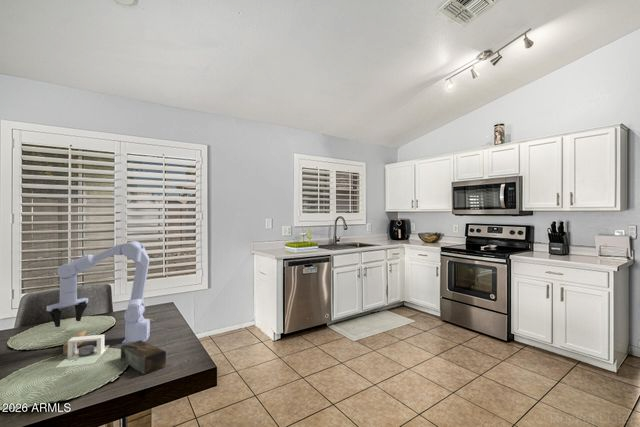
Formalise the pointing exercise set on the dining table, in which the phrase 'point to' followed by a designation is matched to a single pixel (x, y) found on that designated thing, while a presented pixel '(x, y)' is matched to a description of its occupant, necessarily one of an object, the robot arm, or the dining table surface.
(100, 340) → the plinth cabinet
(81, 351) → the token
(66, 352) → the blade batten
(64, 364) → the floor board
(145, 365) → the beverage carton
